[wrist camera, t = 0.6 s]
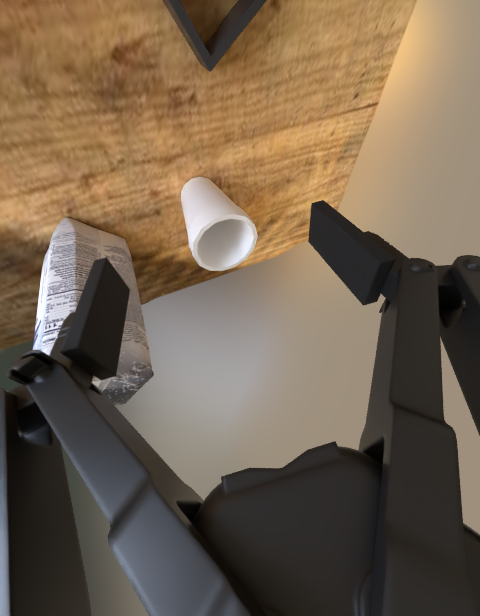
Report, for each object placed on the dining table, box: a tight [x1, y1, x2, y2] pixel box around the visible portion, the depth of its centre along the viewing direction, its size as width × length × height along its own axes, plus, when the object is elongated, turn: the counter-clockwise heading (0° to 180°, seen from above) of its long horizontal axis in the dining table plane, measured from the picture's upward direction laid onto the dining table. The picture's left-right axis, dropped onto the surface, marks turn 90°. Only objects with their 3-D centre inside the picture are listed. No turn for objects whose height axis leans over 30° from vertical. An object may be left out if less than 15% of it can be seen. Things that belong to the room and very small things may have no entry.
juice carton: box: [33, 217, 154, 405], centre depth 30 cm, size 9×10×27 cm
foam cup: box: [181, 176, 258, 271], centre depth 34 cm, size 10×9×13 cm
